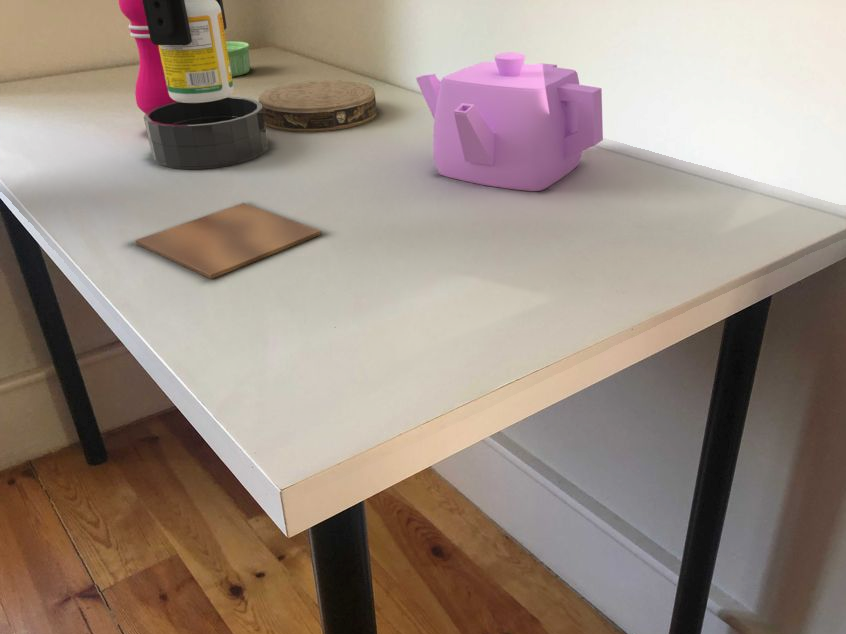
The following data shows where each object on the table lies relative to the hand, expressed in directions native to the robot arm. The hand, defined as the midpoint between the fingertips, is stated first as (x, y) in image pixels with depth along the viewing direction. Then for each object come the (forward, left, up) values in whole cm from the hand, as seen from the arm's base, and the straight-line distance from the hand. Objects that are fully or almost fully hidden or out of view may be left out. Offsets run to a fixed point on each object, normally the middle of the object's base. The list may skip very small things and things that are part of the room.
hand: (190, 34), depth 64 cm
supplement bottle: (0, 0, -5) cm, 5 cm away
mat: (0, 0, -18) cm, 18 cm away
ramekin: (+43, +62, -18) cm, 78 cm away
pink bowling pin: (+17, +37, -18) cm, 45 cm away
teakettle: (+31, -8, -18) cm, 37 cm away
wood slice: (+34, +27, -18) cm, 47 cm away
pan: (+15, +25, -18) cm, 34 cm away
